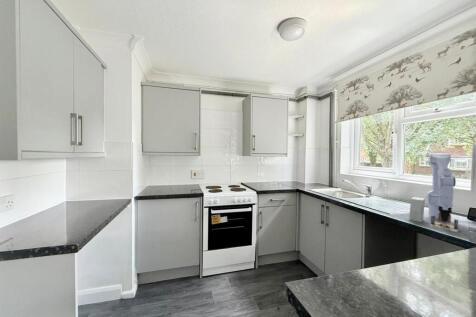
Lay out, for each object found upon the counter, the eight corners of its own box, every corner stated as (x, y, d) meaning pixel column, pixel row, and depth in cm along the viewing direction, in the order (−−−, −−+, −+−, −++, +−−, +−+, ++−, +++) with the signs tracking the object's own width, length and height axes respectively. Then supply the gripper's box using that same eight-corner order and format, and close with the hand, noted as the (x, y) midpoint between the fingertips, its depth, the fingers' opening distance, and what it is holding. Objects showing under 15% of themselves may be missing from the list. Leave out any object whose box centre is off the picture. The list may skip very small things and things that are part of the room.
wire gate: (431, 222, 125) (431, 215, 125) (457, 228, 117) (458, 219, 117) (430, 224, 123) (431, 216, 123) (457, 229, 115) (458, 221, 115)
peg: (438, 226, 119) (439, 221, 119) (449, 228, 116) (449, 223, 116) (438, 228, 116) (438, 223, 116) (449, 230, 113) (449, 225, 113)
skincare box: (411, 218, 136) (413, 196, 135) (423, 220, 131) (425, 198, 131) (408, 220, 131) (410, 198, 130) (421, 223, 126) (422, 200, 125)
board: (431, 221, 130) (431, 220, 130) (457, 226, 122) (457, 225, 122) (430, 227, 119) (430, 226, 119) (458, 233, 111) (458, 232, 111)
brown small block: (438, 219, 122) (438, 212, 122) (450, 221, 119) (450, 214, 118) (438, 221, 119) (438, 213, 118) (450, 223, 115) (451, 215, 115)
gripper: (436, 194, 126) (435, 215, 126) (435, 197, 116) (434, 220, 116) (453, 196, 121) (451, 218, 121) (453, 199, 111) (452, 224, 111)
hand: (444, 219), depth 119 cm, fingers closed on brown small block, 5 cm apart
